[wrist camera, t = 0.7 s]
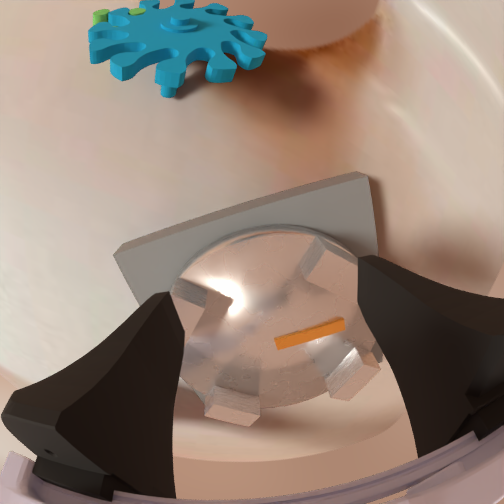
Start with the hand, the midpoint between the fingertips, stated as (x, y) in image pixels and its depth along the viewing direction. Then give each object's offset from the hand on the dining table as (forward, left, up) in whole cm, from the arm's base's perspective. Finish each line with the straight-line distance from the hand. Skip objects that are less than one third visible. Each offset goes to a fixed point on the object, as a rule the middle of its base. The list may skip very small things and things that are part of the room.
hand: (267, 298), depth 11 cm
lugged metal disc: (-1, -8, -8) cm, 11 cm away
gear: (-1, +13, -11) cm, 17 cm away
